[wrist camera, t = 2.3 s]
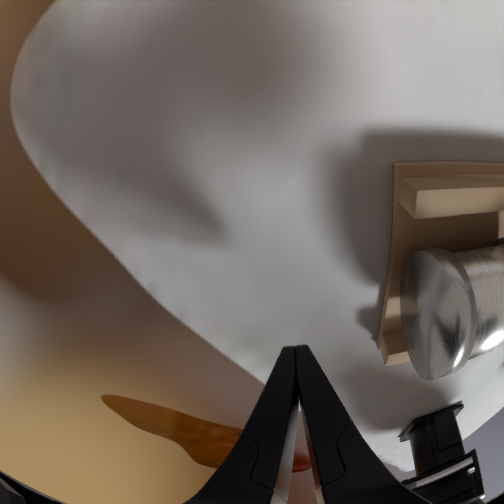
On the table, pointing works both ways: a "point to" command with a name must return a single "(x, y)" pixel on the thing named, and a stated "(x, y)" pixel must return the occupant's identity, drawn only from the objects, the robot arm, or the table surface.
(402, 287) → the cylinder
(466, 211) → the wooden channel tray
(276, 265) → the table surface
